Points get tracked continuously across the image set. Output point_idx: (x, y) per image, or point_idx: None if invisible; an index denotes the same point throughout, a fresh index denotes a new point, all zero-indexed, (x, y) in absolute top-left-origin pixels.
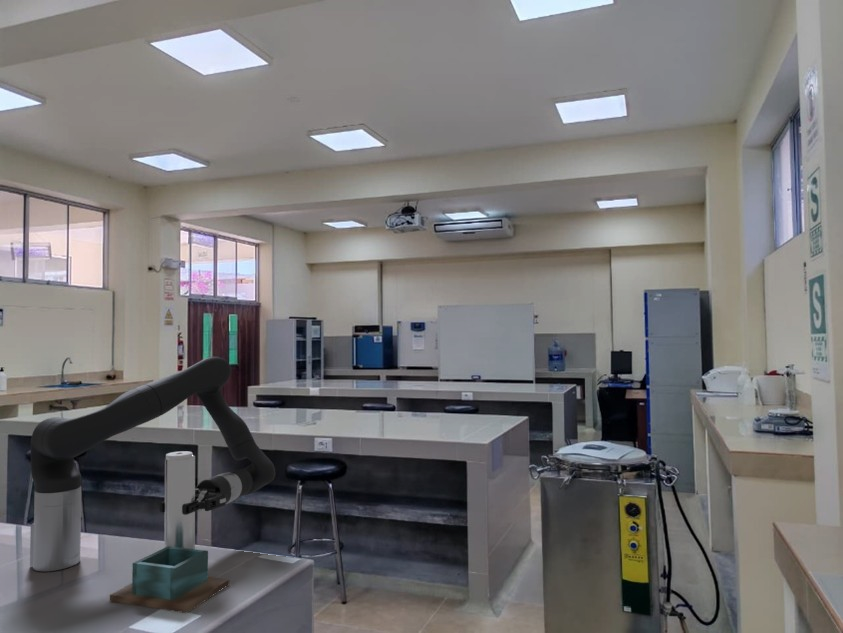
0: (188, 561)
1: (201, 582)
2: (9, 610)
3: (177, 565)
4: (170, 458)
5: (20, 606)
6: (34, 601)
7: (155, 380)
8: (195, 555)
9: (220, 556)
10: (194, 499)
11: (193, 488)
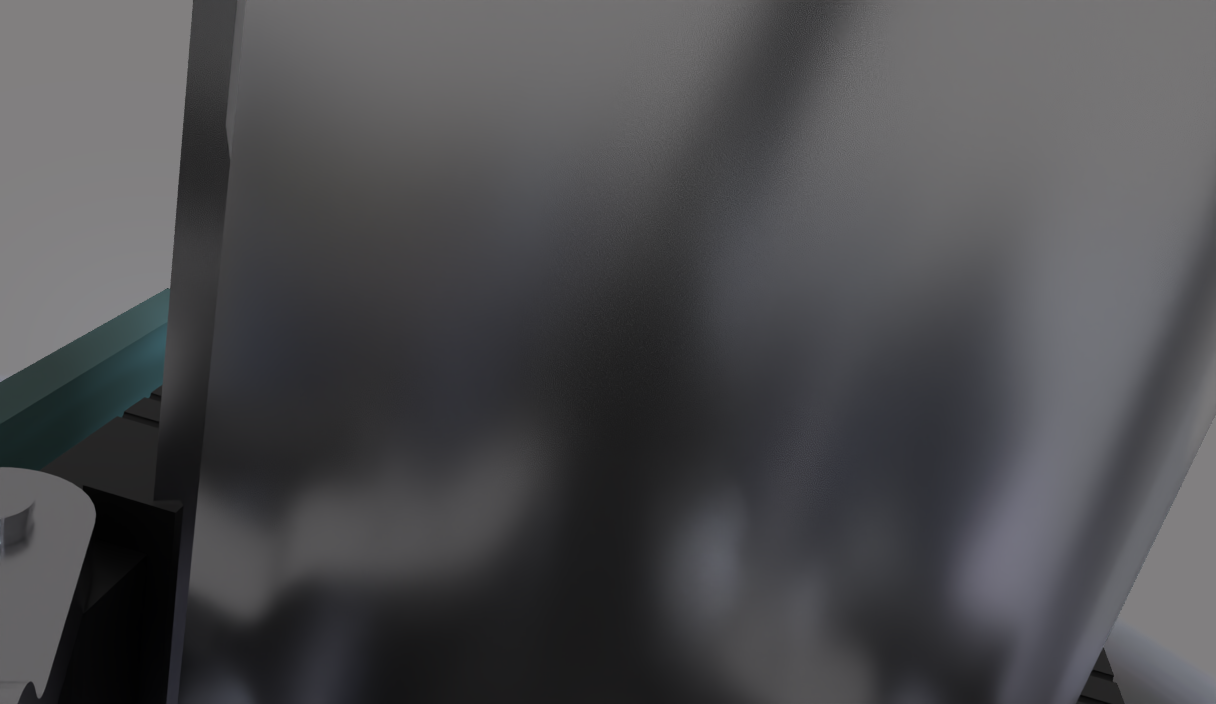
0: (71, 345)
1: None
2: (1123, 627)
3: (157, 313)
4: None
5: (1124, 657)
6: (1124, 700)
7: None
8: (9, 406)
9: None
10: (158, 456)
11: (214, 61)
